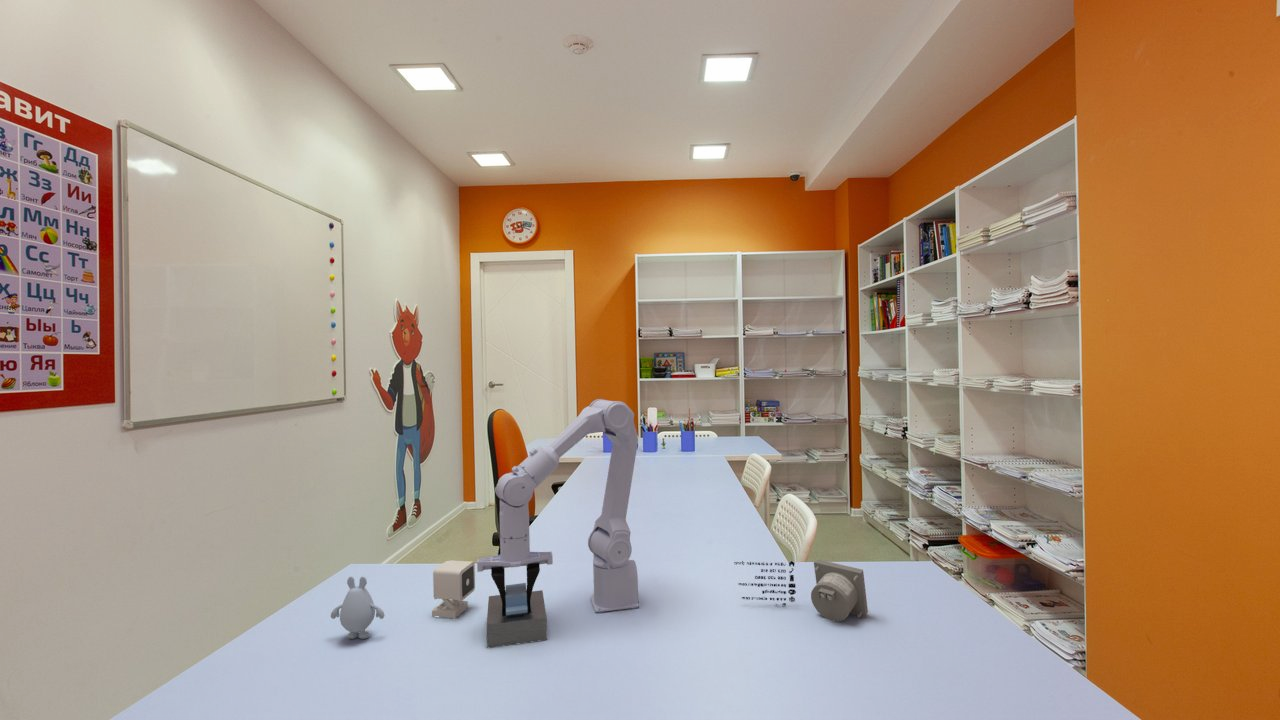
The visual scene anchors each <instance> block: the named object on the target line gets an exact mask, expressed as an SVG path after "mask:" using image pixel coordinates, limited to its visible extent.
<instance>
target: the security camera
mask: <svg viewBox="0 0 1280 720" xmlns="http://www.w3.org/2000/svg"><path fill="white" fill-rule="evenodd" d="M475 568H476V566H475V561H470V560H469V561H467V560H466V561H465V560H464V561H463V560H452V559H451V560H446V561H444V562H443V563H442V564H440V565H438V566H437V567H436V568H434V569H433V572H432V582H433V583H432V585H433V586H432V587H433V599H434V600H438V599H439V600H442V602H441V603H439V605H437V606H435V607H434V608H433V609H432V610H431V617H432V616H439V617H438V618H443V617H447V618H446V619H457V618H458V617H459V616H460V615H462V613H463V612H465V609H466V608H467V607H468V608H469V601H467V600H465V599H466V598H467V597H469V596H470V595H471V594H472V593H473V592H475V589H476V569H475ZM468 608H467V609H468ZM467 609H466V610H467ZM458 615H459V616H458ZM457 616H458V617H457ZM456 617H457V618H456Z"/></svg>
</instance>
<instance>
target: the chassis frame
mask: <svg viewBox="0 0 1280 720" xmlns="http://www.w3.org/2000/svg"><path fill="white" fill-rule="evenodd" d="M487 601H488V603H487V612H486V613H487V615H486V648H487V649H489V648H488V647H490V648H496V647H495V646H497V647H504V646H503V645H505V646H511V645H510V644H513V645H518V644H517V643H520V644H525V643H524V642H528V643H532V642H531V641H536V642H539V641H538V640H543V641H546V640H545V639H547V640H548V629H547V627H548V625H547V623H548V621H547V620H548V619H547V612H546V605H545V599H544V592H543V589H542V590H541V589H540V590H532V594H531V600H530V603H528V604H527V611H528V612H527V613H526V614H518V615H509V616H506V606H502V600H501V596H500V594H498V595H489V596H488V600H487Z"/></svg>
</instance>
